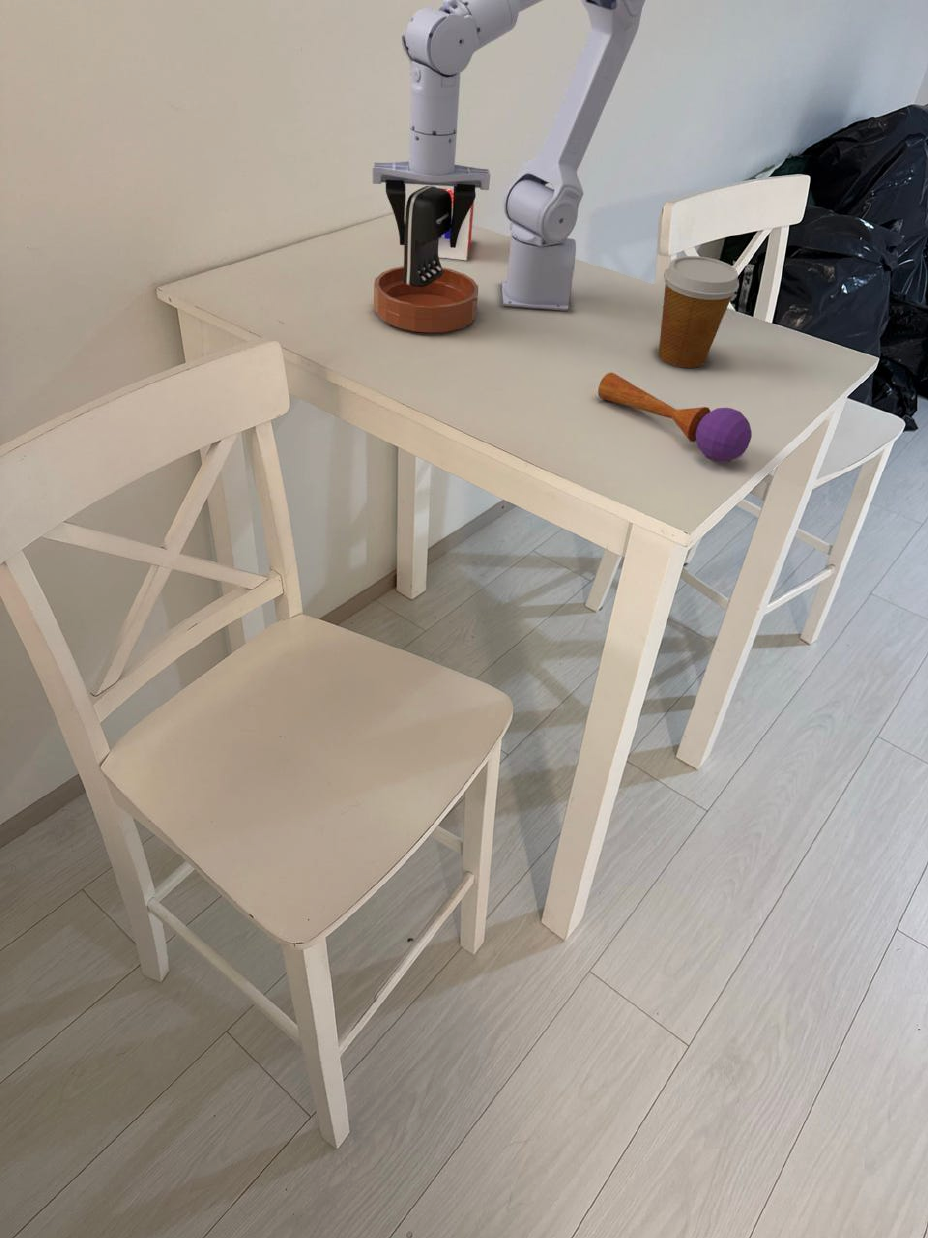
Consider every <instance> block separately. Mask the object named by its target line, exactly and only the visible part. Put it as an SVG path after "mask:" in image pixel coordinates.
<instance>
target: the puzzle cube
mask: <svg viewBox="0 0 928 1238" xmlns="http://www.w3.org/2000/svg"><path fill="white" fill-rule="evenodd" d="M439 188H440V189H444V190H446V191H448V192H449V193H450V195H451V198H452V215H453V193H454V188H453V189H452V188H443V187H439ZM474 206H475V201H474V202H473V204H472V206H471V207H470V209H469V211H468V213H467V215H466V217H465V219H464V221H463V224H462V226H461V229H460V232H459V235H458V239H457V243H456V248H451V247H450V231H448V232H447V233H445V234H443V235H442V236H440V237H439V243H438V257H439V259H450V260H458V261H459V260H460V261H468V256H469V252H470V248H471V245H472V235H473V234H472V233H473V232H472V231H473V219H474ZM451 223H452V220H451ZM450 230H451V229H450Z"/></svg>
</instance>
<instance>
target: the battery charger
mask: <svg viewBox="0 0 928 1238" xmlns="http://www.w3.org/2000/svg"><path fill="white" fill-rule="evenodd" d="M440 188H441V187H436V185H424V186H423V187H420V188H419V189H416V190H415V191H413V192H411V194H410V195H409V196H408V198H407V199H406V203H405V241H404V245H403V248H404V249H403V250H404V251H403V252H404V253H403V255H404V256H403V266H404V276H403V282H404V283H405V284H407V285H412V286H416V287H426V286H428V285H429V284H431V283H433V282H434V281H435V280H437V279H438V278H440V277H441V276H442V274H443V270H442V268H443V266H442V264H441V261H440V257H438V243H439V237H440V236H442V235H443V234H445V233H447V232H448V231H450V229H451V220H452V198H451V195H450V193H449V192H448V191H446V190H444V189H445V188H443V189H440Z"/></svg>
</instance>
